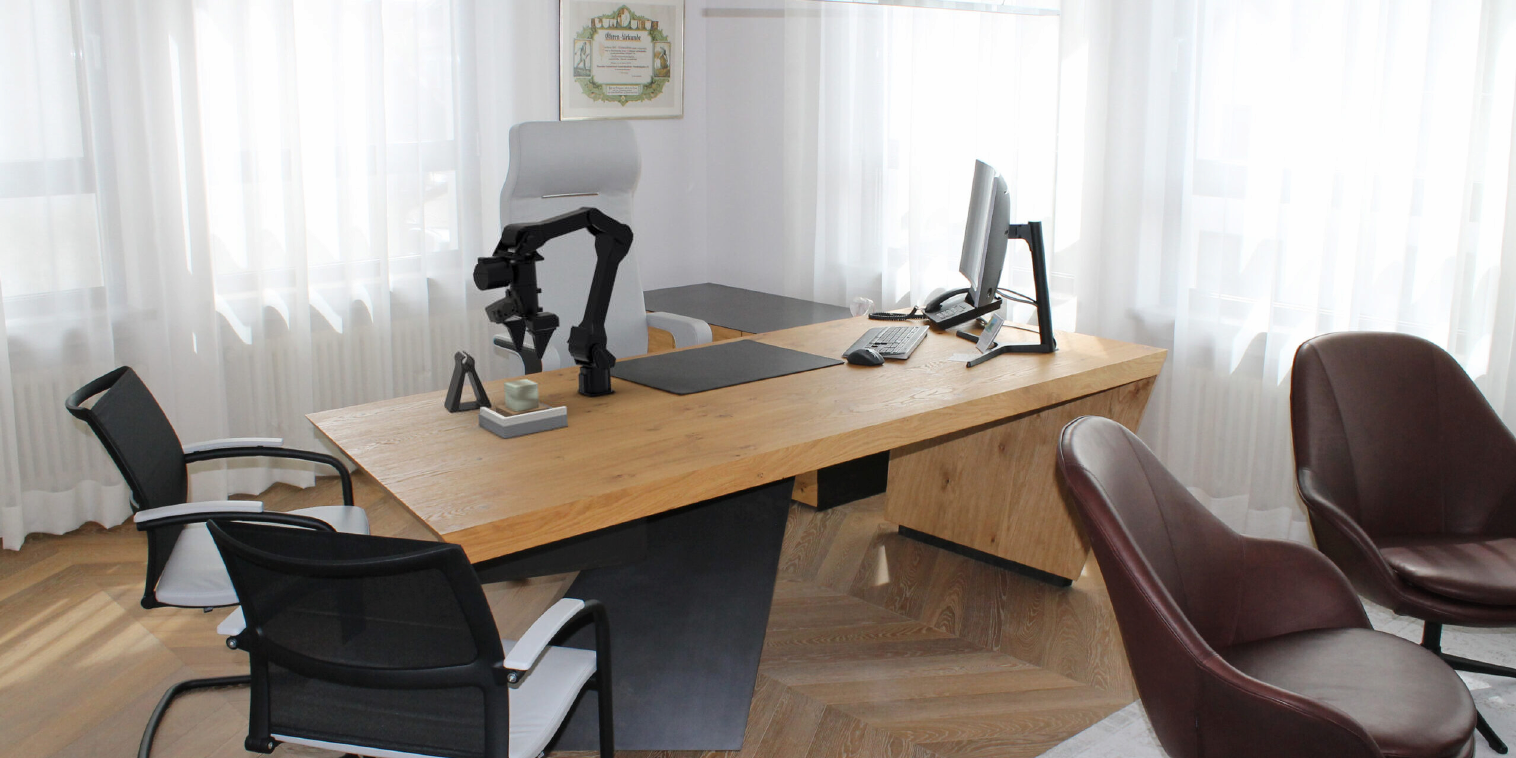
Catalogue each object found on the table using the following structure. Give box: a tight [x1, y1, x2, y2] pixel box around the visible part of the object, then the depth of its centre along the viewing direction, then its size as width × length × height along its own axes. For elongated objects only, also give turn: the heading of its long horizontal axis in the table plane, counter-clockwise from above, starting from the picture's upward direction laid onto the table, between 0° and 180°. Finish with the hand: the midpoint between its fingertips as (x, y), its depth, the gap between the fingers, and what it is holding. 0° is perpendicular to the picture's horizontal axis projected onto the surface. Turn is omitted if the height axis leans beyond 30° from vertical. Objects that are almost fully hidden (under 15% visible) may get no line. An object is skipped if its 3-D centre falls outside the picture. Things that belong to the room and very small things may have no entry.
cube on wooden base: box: [495, 378, 549, 417], centre depth 224 cm, size 8×8×6 cm
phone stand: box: [443, 350, 493, 414], centre depth 238 cm, size 9×6×12 cm, turn 118°
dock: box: [477, 401, 569, 439], centre depth 225 cm, size 14×12×4 cm
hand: (529, 355), depth 236 cm, fingers open, 9 cm apart
